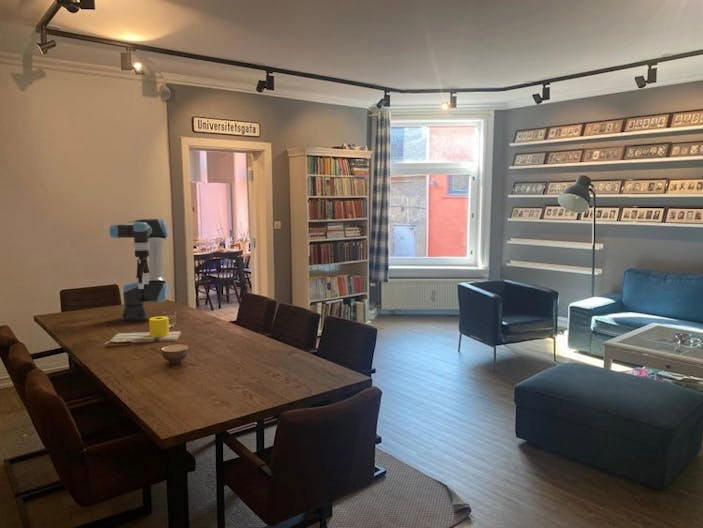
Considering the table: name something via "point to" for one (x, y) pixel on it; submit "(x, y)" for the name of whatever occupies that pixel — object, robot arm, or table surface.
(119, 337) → the board
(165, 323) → the tape roll
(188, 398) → the table surface
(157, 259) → the robot arm
